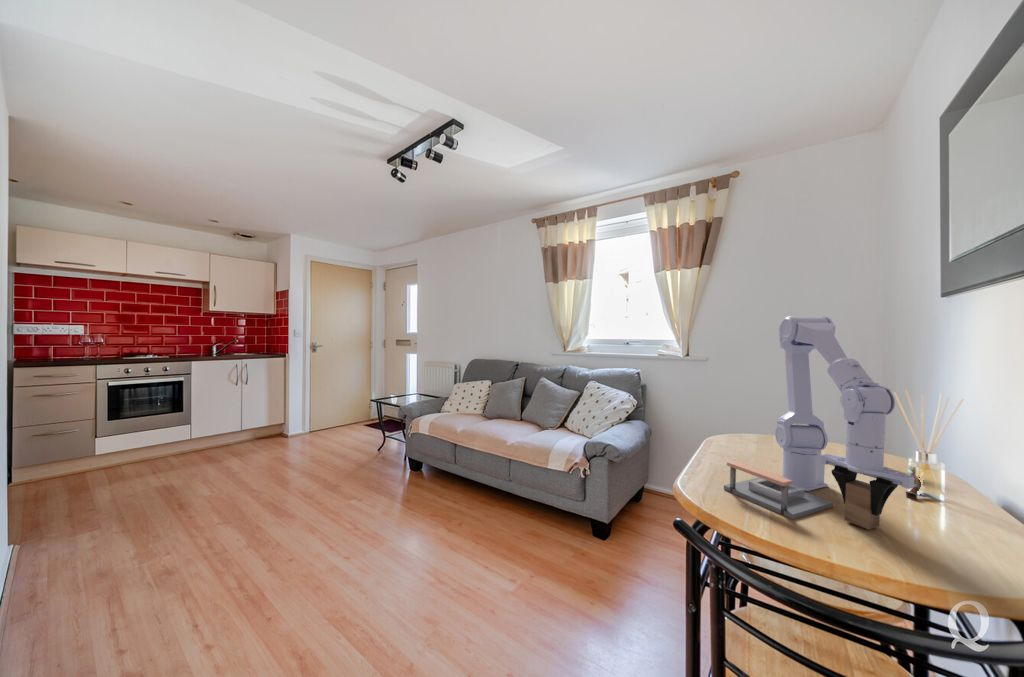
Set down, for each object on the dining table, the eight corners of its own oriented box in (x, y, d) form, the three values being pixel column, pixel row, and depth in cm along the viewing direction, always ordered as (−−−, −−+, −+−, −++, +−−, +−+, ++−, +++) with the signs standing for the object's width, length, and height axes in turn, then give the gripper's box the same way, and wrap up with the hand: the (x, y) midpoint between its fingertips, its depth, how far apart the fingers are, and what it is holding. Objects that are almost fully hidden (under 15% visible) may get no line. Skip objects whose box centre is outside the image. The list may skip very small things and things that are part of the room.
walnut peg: (855, 516, 80) (856, 479, 80) (879, 525, 76) (880, 487, 76) (844, 520, 79) (846, 482, 78) (868, 529, 75) (870, 490, 75)
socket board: (762, 480, 100) (763, 452, 100) (832, 506, 85) (834, 474, 85) (721, 489, 94) (721, 460, 94) (789, 520, 79) (790, 485, 79)
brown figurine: (929, 490, 94) (927, 475, 93) (918, 509, 90) (916, 493, 89) (919, 487, 95) (916, 472, 94) (907, 506, 92) (905, 490, 91)
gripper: (813, 436, 82) (811, 497, 82) (902, 457, 69) (899, 530, 69) (831, 433, 85) (829, 492, 85) (921, 453, 72) (918, 523, 72)
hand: (862, 509), depth 77 cm, fingers closed on walnut peg, 4 cm apart
